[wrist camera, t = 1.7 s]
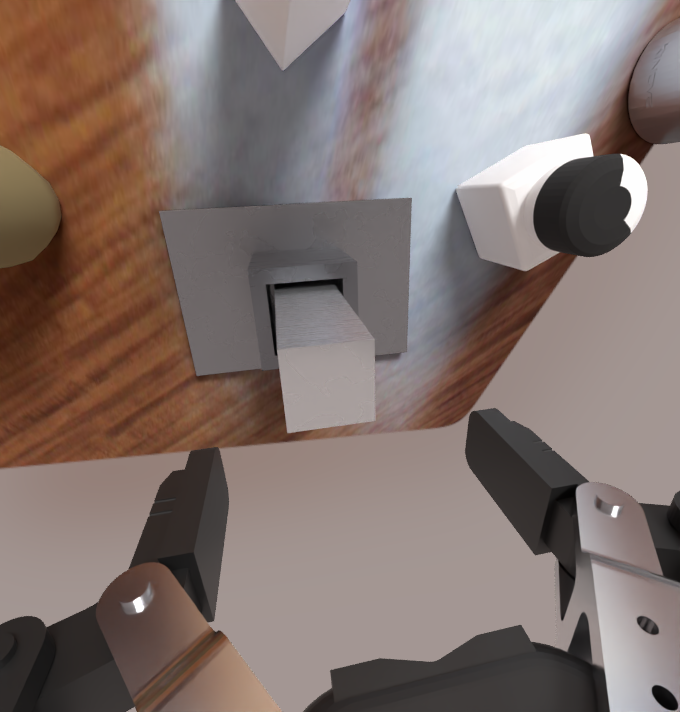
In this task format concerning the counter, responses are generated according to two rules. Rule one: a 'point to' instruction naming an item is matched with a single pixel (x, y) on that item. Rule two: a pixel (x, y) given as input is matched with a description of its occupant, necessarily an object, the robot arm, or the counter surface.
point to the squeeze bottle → (24, 211)
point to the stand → (285, 272)
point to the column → (323, 357)
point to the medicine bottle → (553, 203)
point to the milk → (291, 24)
